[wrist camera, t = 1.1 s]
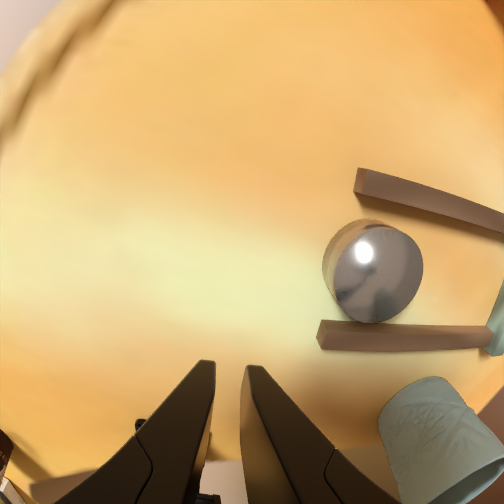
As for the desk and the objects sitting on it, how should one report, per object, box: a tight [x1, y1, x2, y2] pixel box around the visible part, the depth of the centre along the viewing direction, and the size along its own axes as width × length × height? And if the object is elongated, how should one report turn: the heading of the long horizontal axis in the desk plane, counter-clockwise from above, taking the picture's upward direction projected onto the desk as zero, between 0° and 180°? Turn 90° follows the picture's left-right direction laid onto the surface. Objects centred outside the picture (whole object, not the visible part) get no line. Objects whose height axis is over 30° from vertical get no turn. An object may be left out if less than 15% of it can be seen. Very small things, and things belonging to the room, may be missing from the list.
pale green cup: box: [378, 376, 504, 504], centre depth 20 cm, size 10×10×12 cm
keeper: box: [322, 219, 423, 323], centre depth 19 cm, size 6×6×3 cm
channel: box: [316, 168, 504, 357], centre depth 20 cm, size 13×20×2 cm, turn 81°
